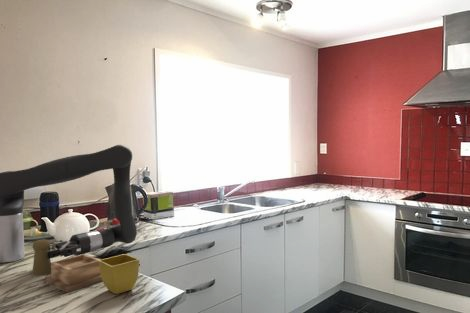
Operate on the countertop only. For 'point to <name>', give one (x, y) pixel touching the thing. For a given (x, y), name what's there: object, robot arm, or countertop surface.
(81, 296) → the countertop surface
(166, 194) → the tea box
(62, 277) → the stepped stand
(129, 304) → the countertop surface
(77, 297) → the countertop surface
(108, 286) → the flower pot
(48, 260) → the cork
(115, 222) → the toy fire truck
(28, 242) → the countertop surface
